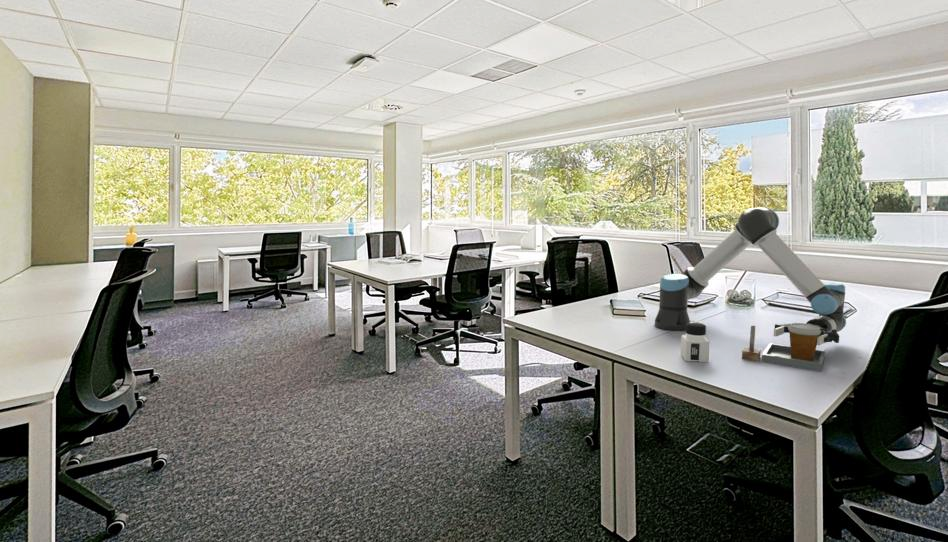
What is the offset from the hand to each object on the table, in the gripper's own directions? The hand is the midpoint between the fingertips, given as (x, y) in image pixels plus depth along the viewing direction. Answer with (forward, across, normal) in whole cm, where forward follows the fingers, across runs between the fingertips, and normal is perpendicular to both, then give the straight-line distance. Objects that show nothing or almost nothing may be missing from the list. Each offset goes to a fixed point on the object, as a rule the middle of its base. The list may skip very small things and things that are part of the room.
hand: (795, 336), depth 166 cm
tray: (0, 0, -8) cm, 8 cm away
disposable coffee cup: (-1, -2, -8) cm, 8 cm away
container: (+26, +22, -8) cm, 35 cm away
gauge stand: (+10, +10, -8) cm, 17 cm away
